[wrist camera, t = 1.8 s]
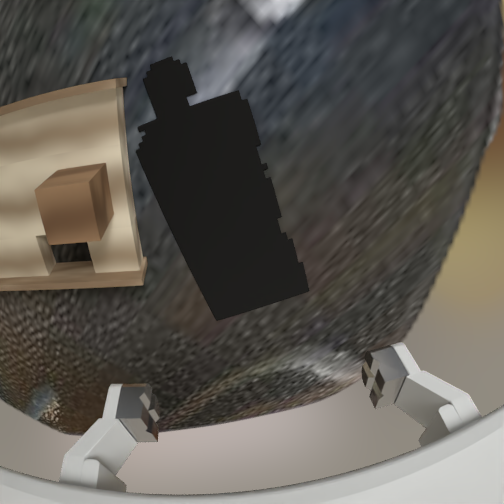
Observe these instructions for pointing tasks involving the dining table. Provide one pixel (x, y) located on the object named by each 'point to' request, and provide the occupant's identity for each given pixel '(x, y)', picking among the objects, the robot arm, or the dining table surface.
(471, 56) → the dining table surface
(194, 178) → the black flat board
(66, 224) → the block
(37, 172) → the box
